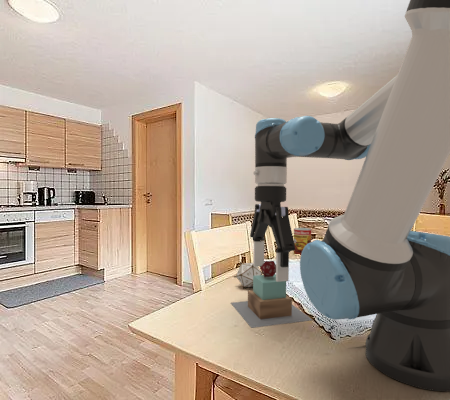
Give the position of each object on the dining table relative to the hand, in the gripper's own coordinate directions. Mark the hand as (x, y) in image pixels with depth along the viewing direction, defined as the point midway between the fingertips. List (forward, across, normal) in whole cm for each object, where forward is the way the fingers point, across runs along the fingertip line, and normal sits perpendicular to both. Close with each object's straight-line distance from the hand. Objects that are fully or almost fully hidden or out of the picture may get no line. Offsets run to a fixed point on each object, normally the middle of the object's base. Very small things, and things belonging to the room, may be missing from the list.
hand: (269, 273), depth 74 cm
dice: (+1, 0, 0) cm, 1 cm away
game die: (+10, -19, +2) cm, 22 cm away
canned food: (+10, -58, +43) cm, 73 cm away
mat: (+10, 0, 0) cm, 10 cm away
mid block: (+5, 0, 0) cm, 5 cm away
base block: (+9, 0, 0) cm, 9 cm away
